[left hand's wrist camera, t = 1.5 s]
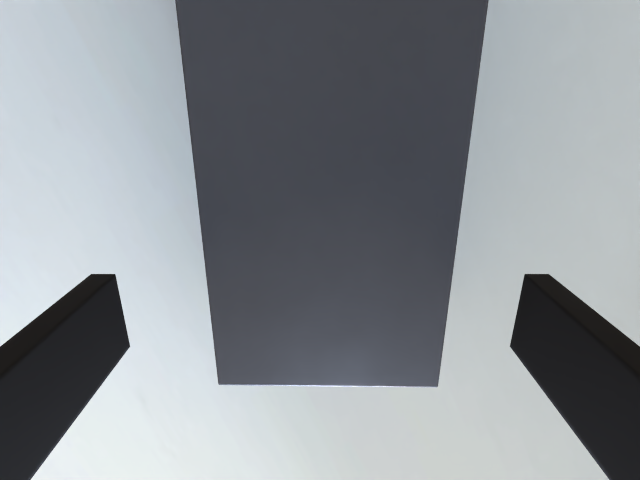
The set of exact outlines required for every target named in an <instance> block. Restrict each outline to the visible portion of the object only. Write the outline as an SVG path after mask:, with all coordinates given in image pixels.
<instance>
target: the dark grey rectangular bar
mask: <svg viewBox="0 0 640 480" xmlns="http://www.w3.org/2000/svg"><path fill="white" fill-rule="evenodd" d="M175 1H176V10H177V19H178V28H179V37H180V45H181V54H182V63H183V72H184V81H185V90H186V99H187V108H188V117H189V126H190V135H191V144H192V152H193V161H194V170H195V179H196V188H197V197H198V206H199V215H200V224H201V233H202V242H203V251H204V259H205V268H206V277H207V286H208V295H209V304H210V313H211V322H212V331H213V340H214V349H215V357H216V366H217V375H218V384H219V385H278V386H374V387H438V381H439V373H440V366H441V358H442V351H443V343H444V335H445V328H446V320H447V312H448V305H449V297H450V289H451V282H452V274H453V267H454V259H455V251H456V244H457V236H458V228H459V221H460V213H461V206H462V198H463V190H464V183H465V175H466V167H467V160H468V152H469V144H470V137H471V129H472V122H473V114H474V106H475V99H476V91H477V83H478V76H479V68H480V61H481V53H482V45H483V38H484V30H485V22H486V15H487V7H488V0H175Z"/></svg>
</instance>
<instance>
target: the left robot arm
mask: <svg viewBox="0 0 640 480" xmlns="http://www.w3.org/2000/svg"><path fill="white" fill-rule="evenodd" d="M129 347H130V344H129V339H128V334H127V330H126V325H125V320H124V315H123V310H122V305H121V300H120V295H119V290H118V285H117V281H116V276H115V274H91V275H90V276H88V277H87V278H86V279H85V280H83V281H82V282H81V283H80V284H78V285H77V286H76V287H75V288H73V289H72V290H71V291H70V292H68V293H67V294H66V295H65V296H63V297H62V298H61V299H60V300H58V301H57V302H56V303H55V304H53V305H52V306H51V307H49V308H48V309H47V310H46V311H44V312H43V313H42V314H41V315H39V316H38V317H37V318H36V319H34V320H33V321H32V322H31V323H29V324H28V325H27V326H26V327H24V328H23V329H22V330H21V331H19V332H18V333H17V334H16V335H14V336H13V337H12V338H11V339H9V340H8V341H7V342H6V343H4V344H3V345H2V346H1V347H0V480H31V478H32V477H33V476H34V474H35V473H36V472H37V470H38V469H39V468H40V466H41V465H42V464H43V462H44V461H45V459H46V458H47V457H48V455H49V454H50V453H51V451H52V450H53V449H54V447H55V446H56V445H57V443H58V442H59V441H60V439H61V438H62V437H63V435H64V434H65V433H66V431H67V430H68V429H69V427H70V426H71V425H72V423H73V422H74V421H75V419H76V418H77V417H78V415H79V414H80V413H81V411H82V410H83V409H84V407H85V406H86V405H87V403H88V402H89V401H90V399H91V398H92V397H93V395H94V394H95V393H96V391H97V390H98V389H99V387H100V386H101V385H102V383H103V382H104V380H105V379H106V378H107V376H108V375H109V374H110V372H111V371H112V370H113V368H114V367H115V366H116V364H117V363H118V362H119V360H120V359H121V358H122V356H123V355H124V354H125V352H126V351H127V350H128V348H129ZM510 347H511V348H512V350H513V351H514V352H515V354H516V355H517V356H518V358H519V359H520V360H521V362H522V363H523V364H524V366H525V367H526V368H527V370H528V371H529V372H530V374H531V375H532V376H533V378H534V379H535V380H536V382H537V383H538V385H539V386H540V387H541V389H542V390H543V391H544V393H545V394H546V395H547V397H548V398H549V399H550V401H551V402H552V403H553V405H554V406H555V407H556V409H557V410H558V411H559V413H560V414H561V415H562V417H563V418H564V419H565V421H566V422H567V423H568V425H569V426H570V427H571V429H572V430H573V431H574V433H575V434H576V435H577V437H578V438H579V439H580V441H581V442H582V443H583V445H584V446H585V447H586V449H587V450H588V451H589V453H590V454H591V455H592V457H593V458H594V460H595V461H596V462H597V464H598V465H599V466H600V468H601V469H602V470H603V472H604V473H605V474H606V476H607V477H608V478H609V480H640V347H639V346H638V345H637V344H636V343H634V342H633V341H632V340H631V339H629V338H628V337H627V336H626V335H624V334H623V333H622V332H621V331H619V330H618V329H617V328H616V327H614V326H613V325H612V324H611V323H609V322H608V321H607V320H606V319H604V318H603V317H602V316H601V315H599V314H598V313H597V312H596V311H594V310H593V309H592V308H591V307H589V306H588V305H587V304H585V303H584V302H583V301H582V300H580V299H579V298H578V297H577V296H575V295H574V294H573V293H572V292H570V291H569V290H568V289H567V288H565V287H564V286H563V285H562V284H560V283H559V282H558V281H557V280H555V279H554V278H553V277H552V276H550V275H549V274H525V276H524V281H523V285H522V290H521V295H520V300H519V305H518V310H517V315H516V320H515V325H514V330H513V334H512V339H511V344H510Z"/></svg>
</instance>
